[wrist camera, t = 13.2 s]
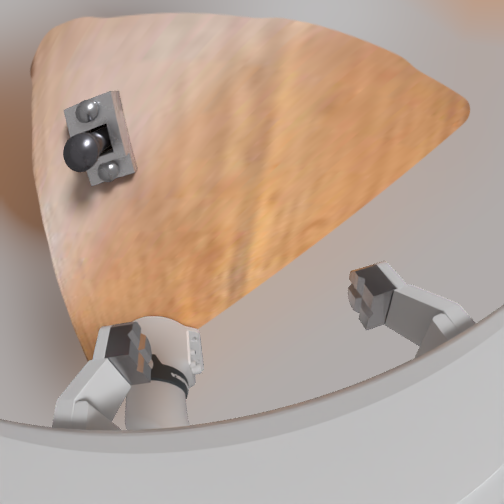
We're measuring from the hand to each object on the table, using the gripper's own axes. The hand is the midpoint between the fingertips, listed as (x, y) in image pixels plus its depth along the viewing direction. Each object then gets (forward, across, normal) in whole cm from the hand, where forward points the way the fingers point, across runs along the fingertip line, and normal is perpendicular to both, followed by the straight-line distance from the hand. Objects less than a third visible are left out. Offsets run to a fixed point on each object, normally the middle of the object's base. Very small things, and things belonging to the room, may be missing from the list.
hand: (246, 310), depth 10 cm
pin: (+33, -14, +5) cm, 36 cm away
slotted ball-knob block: (+33, -14, +5) cm, 36 cm away
